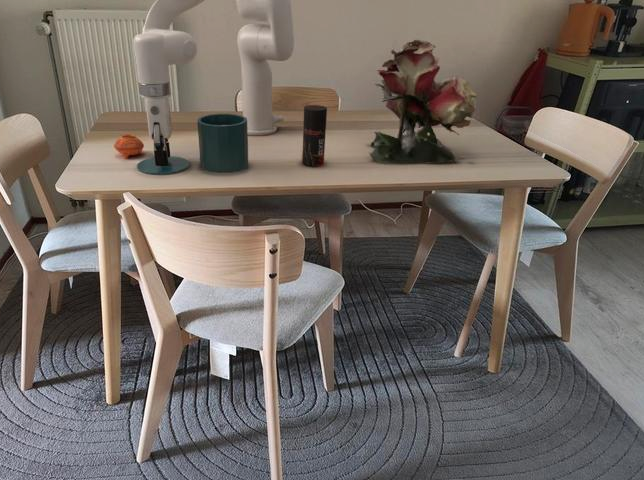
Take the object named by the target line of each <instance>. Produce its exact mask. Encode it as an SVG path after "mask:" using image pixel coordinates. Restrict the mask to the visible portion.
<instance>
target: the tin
mask: <svg viewBox="0 0 644 480" xmlns="http://www.w3.org/2000/svg"><path fill="white" fill-rule="evenodd" d="M196 124H197V134H198V148H199V164H200V168H201V169H202V170H204V171H207V172H210V173H216V174H230V173H236V172H240V171H244V170H245V169H248V168H249V141H248V139H249V137H248V136H249V135H248V129H247V118H246V117H244V116H243V115H241V114H235V113H212V114H206V115H201V116H200V117H198V118H197V123H196Z"/></svg>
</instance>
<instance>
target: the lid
mask: <svg viewBox="0 0 644 480" xmlns="http://www.w3.org/2000/svg"><path fill="white" fill-rule="evenodd" d="M165 148H166V150H167V145H165ZM167 156H168V154H167ZM190 167H191V164H190V161H189V160H188V159H187V158H184V157H181V156H180V157H179V156H175V155H174V156H173V155H170V157H169V158H168V166H156V165H155V156H154V157H153V156H152V157H148V158H146V159H143V160H141V161H139V162H138V163H137V164H136V168H137V171H139V172H140V173H143V174H146V175H152V176H153V175H154V176H164V175H165V176H166V175H175V174H179V173H182V172H184V171H187V170H188V169H189V168H190Z"/></svg>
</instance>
